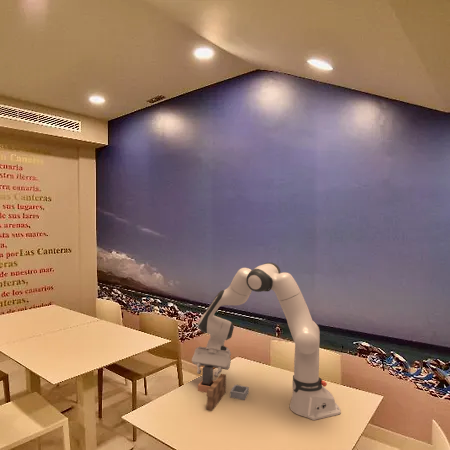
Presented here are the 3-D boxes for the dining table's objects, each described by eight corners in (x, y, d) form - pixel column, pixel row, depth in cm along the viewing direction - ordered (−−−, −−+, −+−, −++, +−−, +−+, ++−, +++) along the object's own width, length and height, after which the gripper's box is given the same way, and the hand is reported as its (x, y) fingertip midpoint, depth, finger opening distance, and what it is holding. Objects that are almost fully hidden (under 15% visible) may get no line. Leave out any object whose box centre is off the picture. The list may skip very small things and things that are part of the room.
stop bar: (205, 386, 179) (205, 365, 179) (212, 387, 178) (213, 366, 178) (202, 390, 175) (202, 368, 175) (209, 391, 174) (210, 369, 174)
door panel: (217, 391, 175) (218, 373, 174) (225, 392, 173) (225, 374, 173) (203, 409, 158) (204, 389, 158) (212, 411, 156) (212, 391, 156)
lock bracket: (203, 384, 181) (203, 378, 181) (216, 387, 179) (216, 381, 179) (197, 390, 174) (197, 384, 174) (211, 393, 172) (211, 387, 172)
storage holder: (234, 390, 175) (234, 384, 175) (248, 393, 173) (248, 387, 173) (230, 397, 169) (230, 391, 169) (244, 400, 166) (244, 393, 166)
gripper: (194, 343, 186) (186, 368, 177) (231, 348, 179) (224, 375, 170) (198, 348, 191) (190, 374, 181) (233, 354, 184) (227, 380, 175)
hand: (207, 374), depth 176 cm, fingers open, 8 cm apart
